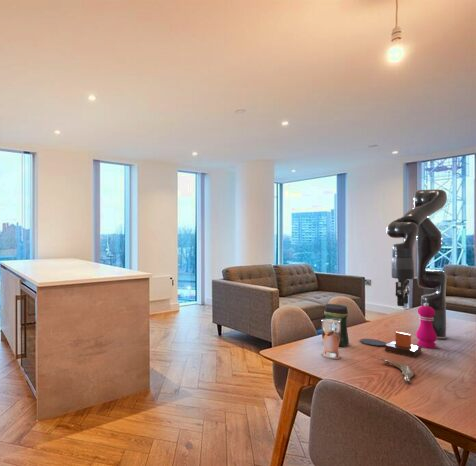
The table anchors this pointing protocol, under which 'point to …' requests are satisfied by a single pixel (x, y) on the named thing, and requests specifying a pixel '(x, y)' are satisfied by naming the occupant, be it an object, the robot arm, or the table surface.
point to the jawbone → (403, 367)
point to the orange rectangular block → (403, 339)
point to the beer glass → (331, 338)
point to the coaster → (373, 342)
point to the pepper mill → (426, 327)
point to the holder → (403, 349)
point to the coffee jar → (338, 319)
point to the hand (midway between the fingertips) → (402, 304)
